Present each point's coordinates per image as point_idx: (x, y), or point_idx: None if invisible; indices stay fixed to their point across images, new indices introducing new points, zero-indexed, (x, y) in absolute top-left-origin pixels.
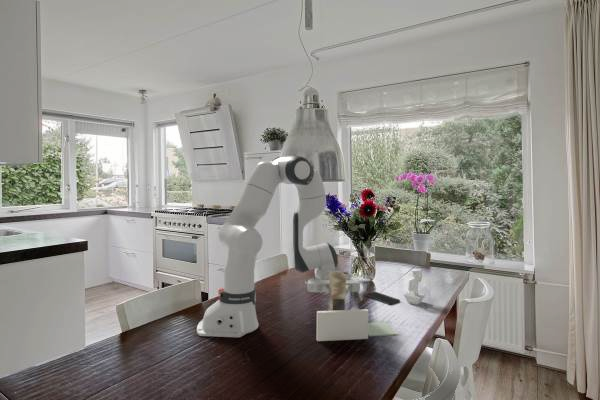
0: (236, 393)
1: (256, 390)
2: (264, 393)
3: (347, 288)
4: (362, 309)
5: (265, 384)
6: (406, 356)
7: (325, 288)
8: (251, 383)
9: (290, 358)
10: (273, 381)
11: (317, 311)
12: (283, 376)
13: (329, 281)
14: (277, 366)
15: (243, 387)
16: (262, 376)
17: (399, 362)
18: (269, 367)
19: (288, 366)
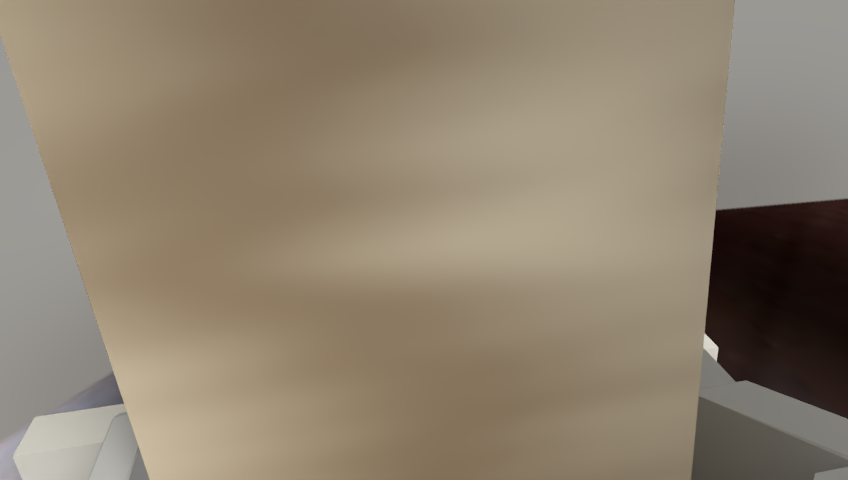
0: (835, 201)
1: (775, 214)
2: (736, 210)
3: (114, 433)
4: (90, 441)
5: (763, 232)
6: (14, 439)
7: (761, 409)
8: (824, 230)
9: (765, 357)
10: (742, 244)
11: (705, 341)
12: (717, 264)
13: (688, 312)
14: (792, 303)
15: (836, 217)
16: (812, 256)
17: (111, 387)
18: (828, 295)
19: (734, 309)
